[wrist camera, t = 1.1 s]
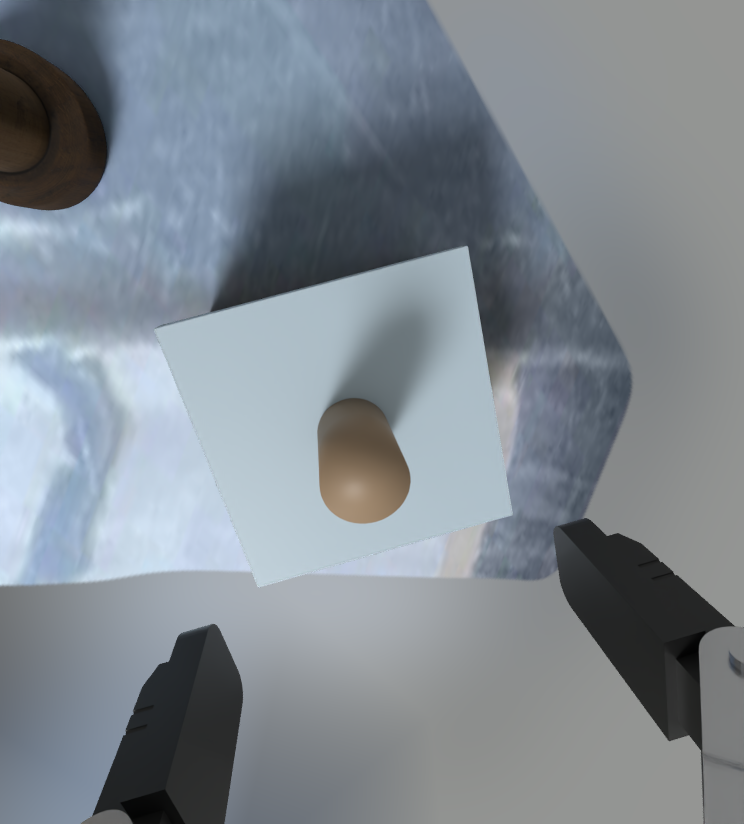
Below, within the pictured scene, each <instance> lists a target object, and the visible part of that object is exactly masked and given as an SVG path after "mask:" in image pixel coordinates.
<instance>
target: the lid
mask: <svg viewBox="0 0 744 824" xmlns="http://www.w3.org/2000/svg"><path fill="white" fill-rule="evenodd" d="M154 331H155V333H156V336H157V338H158V341H159V343H160V346H161V348H162V351H163V353H164V356H165V358H166V361H167V363H168V366H169V368H170V371H171V373H172V376H173V378H174V381H175V383H176V385H177V388H178V390H179V393H180V395H181V398H182V400H183V403H184V405H185V408H186V410H187V413H188V415H189V418H190V420H191V423H192V425H193V428H194V430H195V433H196V435H197V437H198V440H199V442H200V445H201V447H202V450H203V452H204V455H205V457H206V460H207V462H208V465H209V467H210V470H211V472H212V475H213V477H214V480H215V482H216V485H217V487H218V490H219V492H220V494H221V497H222V499H223V502H224V504H225V507H226V509H227V512H228V514H229V517H230V519H231V522H232V524H233V527H234V529H235V532H236V534H237V537H238V539H239V542H240V544H241V546H242V549H243V551H244V554H245V556H246V559H247V561H248V564H249V566H250V569H251V571H252V574H253V576H254V579H255V581H256V583H257V586H258V588H259V587H262V586H266V585H269V584H273V583H276V582H280V581H283V580H287V579H290V578H294V577H297V576H301V575H304V574H308V573H311V572H315V571H318V570H322V569H325V568H329V567H332V566H336V565H339V564H343V563H346V562H350V561H353V560H357V559H360V558H364V557H367V556H371V555H374V554H378V553H381V552H385V551H388V550H392V549H395V548H399V547H402V546H406V545H409V544H413V543H416V542H420V541H423V540H427V539H430V538H434V537H437V536H441V535H444V534H448V533H451V532H454V531H458V530H461V529H465V528H468V527H472V526H475V525H479V524H482V523H486V522H489V521H493V520H496V519H500V518H503V517H507V516H510V515H513V514H512V508H511V502H510V496H509V490H508V484H507V478H506V472H505V466H504V460H503V454H502V448H501V442H500V436H499V430H498V424H497V418H496V412H495V406H494V400H493V394H492V388H491V382H490V376H489V370H488V364H487V358H486V352H485V346H484V340H483V334H482V328H481V322H480V316H479V310H478V304H477V298H476V292H475V286H474V280H473V274H472V269H471V263H470V257H469V251H468V246H459V247H455V248H451V249H448V250H444V251H440V252H436V253H432V254H429V255H425V256H421V257H417V258H414V259H410V260H406V261H402V262H398V263H395V264H391V265H387V266H383V267H380V268H376V269H372V270H368V271H364V272H361V273H357V274H353V275H349V276H346V277H342V278H338V279H334V280H330V281H327V282H323V283H319V284H315V285H312V286H308V287H304V288H300V289H296V290H293V291H289V292H285V293H281V294H278V295H274V296H270V297H266V298H262V299H259V300H255V301H251V302H247V303H244V304H240V305H236V306H232V307H228V308H225V309H221V310H217V311H213V312H210V313H206V314H202V315H198V316H195V317H191V318H187V319H183V320H179V321H176V322H172V323H168V324H164V325H161V326H159V327H157V328H155V329H154Z"/></svg>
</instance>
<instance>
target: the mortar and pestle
mask: <svg viewBox="0 0 744 824" xmlns="http://www.w3.org/2000/svg"><path fill="white" fill-rule="evenodd" d="M106 156H107V146H106V138H105V133H104V129H103V126H102V123H101V120H100V118H99V115H98V113H97V111H96V109H95V108H94V106H93V104H92V103H91V101H90V100H89V98H88V97H87V95H86V94H85V93H84V91H83V90H82V89H81V88H80V87H79V86H78V85H77V84H76V83H75V82H74V81H73V80H72V79H71V78H70V77H69V76H68V75H67V74H65V73H64V72H63V71H61V70H60V69H59V68H57V67H56V66H54V65H53V64H51V63H50V62H48V61H46V60H45V59H44V58H42V57H41V56H39V55H37V54H36V53H34V52H33V51H31V50H29V49H27V48H25V47H23V46H21V45H18V44H16V43H13V42H10V41H6V40H2V39H0V201H1V202H4V203H7V204H10V205H15V206H20V207H27V208H32V209H39V210H60V209H65V208H69V207H72V206H74V205H76V204H78V203H80V202H82V201H83V200H85V199H86V198H87V197H88V196H89V195H90V194H91V193H92V192H93V191H94V190H95V188H96V187H97V185H98V183H99V182H100V179H101V177H102V175H103V172H104V168H105V164H106Z"/></svg>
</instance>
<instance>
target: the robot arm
mask: <svg viewBox="0 0 744 824" xmlns="http://www.w3.org/2000/svg"><path fill="white" fill-rule="evenodd" d="M554 541H555V549H556V556H557V563H558V570H559V577H560V583H561V586H562V589H563V592H564V595H565V597H566V599H567V601H568V603H569V605H570V606H571V608H572V609H573V611H574V612H575V613H576V615H577V616H578V618H579V619H580V620H581V622H582V623H583V624H584V626H585V627H586V628H587V630H588V631H589V632H590V634H591V635H592V637H593V638H594V639H595V641H596V642H597V644H598V645H599V646H600V648H601V649H602V650H603V652H604V653H605V654H606V656H607V657H608V659H609V660H610V661H611V663H612V664H613V665H614V667H615V668H616V669H617V671H618V672H619V674H620V675H621V676H622V678H623V679H624V680H625V682H626V683H627V684H628V686H629V687H630V688H631V690H632V691H633V693H634V694H635V695H636V697H637V698H638V699H639V700H640V702H641V704H642V705H643V706H644V708H645V709H646V710H647V712H648V713H649V714H650V716H651V717H652V719H653V720H654V721H655V723H656V724H657V725H658V727H659V728H660V729H661V731H662V732H663V734H664V735H665V736H666V738H667V739H668V740H669V741H671V740H674V739H678V738H681V737H684V736H687V735H689V736H690V737H691V738H692V740H693V741H694V742H695V743H696V745H697V746H698V747H699V749H700V750H701V769H702V797H703V824H744V627H736V626H734V625H733V624H732V623H731V622H729V621H728V620H727V619H726V618H725V617H724V616H723V615H722V614H720V613H719V612H718V611H717V610H716V609H715V608H714V607H713V606H711V605H710V604H709V603H708V602H707V601H706V600H705V599H703V598H702V597H701V596H700V595H699V594H698V593H697V592H695V591H694V590H693V589H692V588H691V587H690V586H689V585H688V584H687V583H685V582H684V581H683V580H682V579H681V578H679V576H677V575H674V573H673V571H672V570H670V568H668V567H667V566H666V565H665V564H664V563H663V562H660V561H659V559H658V558H657V557H656V556H655V555H654V554H653V553H651V552H650V551H649V550H648V549H647V548H646V547H644V546H643V545H642V544H641V543H639V542H637V541H634V540H632V539H630V538H628V537H625V536H623V535H621V534H619V533H617V534H613V535H610V536H606V535H605V534H604V533H603V532H602V531H601V530H600V529H599V528H598V527H597V526H596V525H595V524H594V523H593V522H592V521H591V520H589V519H587V518H584V519H581V520H577V521H574V522H570V523H567V524H563V525H560V526H556V527H555V528H554ZM242 703H243V690H242V682H241V678H240V674H239V672H238V669H237V667H236V665H235V663H234V661H233V658H232V656H231V654H230V652H229V649H228V647H227V645H226V643H225V640H224V638H223V636H222V634H221V632H220V630H219V628H218V627H217V625H215V624H211V625H208V626H204V627H201V628H197V629H194V630H190V631H187V632H183V633H181V634H180V635H179V636H178V638H177V640H176V643H175V646H174V649H173V652H172V655H171V658H170V660H169V662H166V663H162V664H159V665H158V667H157V668H156V670H155V671H154V672H153V673H152V675H151V676H150V678H149V679H148V680H147V681H146V683H145V684H144V686H143V687H142V689H141V692H140V694H139V697H138V700H137V702H136V705H135V707H134V710H133V712H134V714H133V715H132V716H131V718H130V720H129V723H128V725H127V728H126V735H124V736H123V738H122V741H121V743H120V746H119V748H118V751H117V754H116V757H115V759H114V761H113V764H112V766H111V769H110V772H109V774H108V777H107V780H106V782H105V785H104V787H103V790H102V793H101V795H100V797H99V800H98V803H97V805H96V808H95V810H94V813H93V815H92V817H90V818H88V819H87V820H85V821H84V822H82V823H81V824H224V822H225V816H226V809H227V802H228V796H229V789H230V783H231V776H232V769H233V763H234V756H235V750H236V743H237V736H238V729H239V723H240V717H241V710H242Z"/></svg>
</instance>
